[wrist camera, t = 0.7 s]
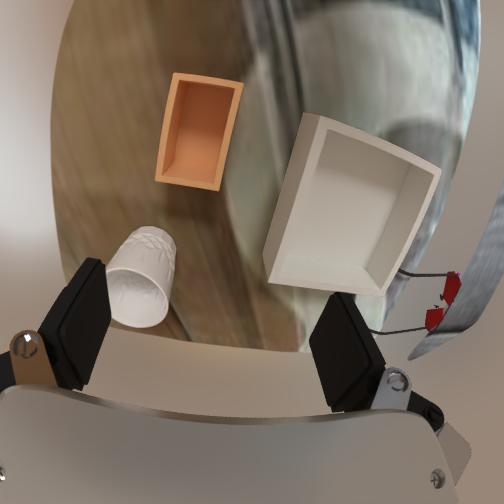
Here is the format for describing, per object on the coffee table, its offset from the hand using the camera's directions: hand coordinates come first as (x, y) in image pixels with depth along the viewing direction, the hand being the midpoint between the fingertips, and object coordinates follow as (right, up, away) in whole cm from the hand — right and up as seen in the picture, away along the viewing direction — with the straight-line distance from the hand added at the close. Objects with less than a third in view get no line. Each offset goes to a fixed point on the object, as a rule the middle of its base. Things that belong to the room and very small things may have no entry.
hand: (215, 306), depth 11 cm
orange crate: (-4, +15, +16) cm, 22 cm away
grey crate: (+13, +8, +21) cm, 26 cm away
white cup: (-11, +3, +23) cm, 26 cm away
